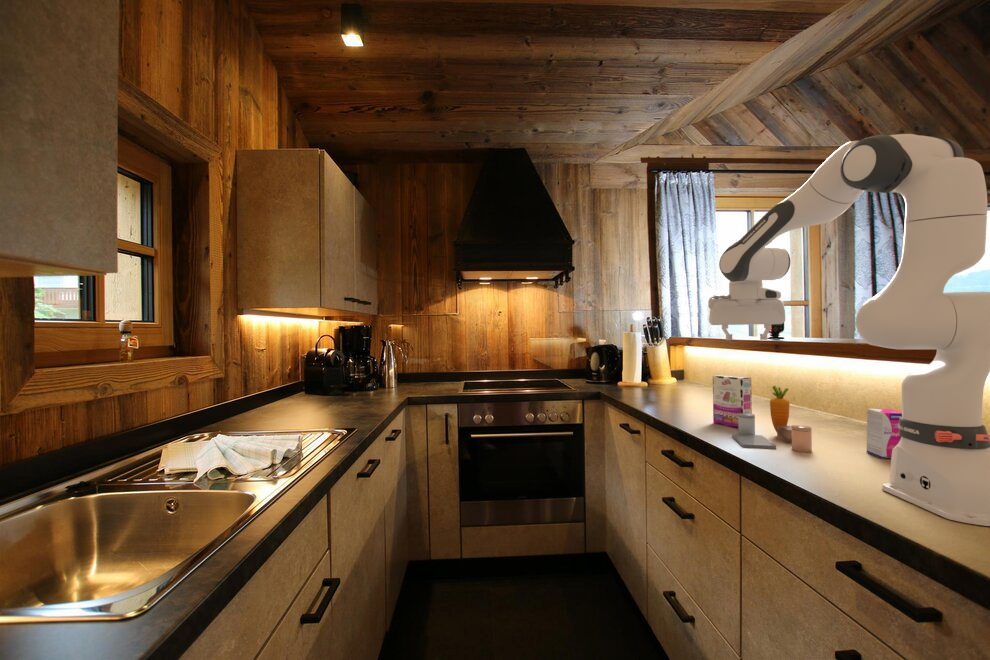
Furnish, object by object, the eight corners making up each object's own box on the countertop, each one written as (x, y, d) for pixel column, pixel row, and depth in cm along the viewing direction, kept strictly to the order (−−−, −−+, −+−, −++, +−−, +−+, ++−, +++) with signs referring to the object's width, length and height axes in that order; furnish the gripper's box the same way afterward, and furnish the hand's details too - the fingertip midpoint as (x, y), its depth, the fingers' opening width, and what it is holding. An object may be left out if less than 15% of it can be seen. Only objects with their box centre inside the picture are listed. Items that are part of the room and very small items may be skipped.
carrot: (793, 436, 134) (793, 386, 134) (782, 438, 132) (781, 387, 132) (777, 433, 138) (777, 384, 138) (766, 434, 137) (765, 385, 136)
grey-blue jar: (757, 436, 135) (756, 416, 135) (740, 436, 136) (740, 415, 136) (752, 433, 139) (752, 413, 139) (736, 432, 140) (736, 412, 140)
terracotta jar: (814, 452, 117) (814, 428, 117) (795, 451, 118) (795, 428, 118) (807, 448, 121) (807, 425, 121) (789, 447, 122) (788, 424, 122)
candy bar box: (753, 427, 146) (752, 377, 146) (742, 429, 144) (741, 378, 144) (722, 421, 156) (722, 374, 156) (712, 423, 154) (711, 375, 154)
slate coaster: (776, 448, 121) (776, 445, 121) (743, 447, 123) (743, 444, 123) (761, 438, 133) (761, 435, 133) (732, 436, 135) (731, 434, 135)
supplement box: (882, 459, 111) (882, 412, 111) (865, 452, 116) (865, 408, 116) (908, 459, 110) (908, 412, 110) (890, 453, 116) (889, 408, 116)
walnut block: (806, 443, 127) (806, 429, 127) (788, 444, 127) (788, 429, 126) (794, 439, 132) (793, 425, 132) (777, 439, 132) (777, 425, 131)
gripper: (710, 294, 136) (711, 340, 136) (787, 292, 131) (787, 339, 131) (706, 296, 142) (706, 339, 142) (779, 293, 137) (780, 339, 137)
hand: (746, 339), depth 137 cm, fingers open, 8 cm apart
